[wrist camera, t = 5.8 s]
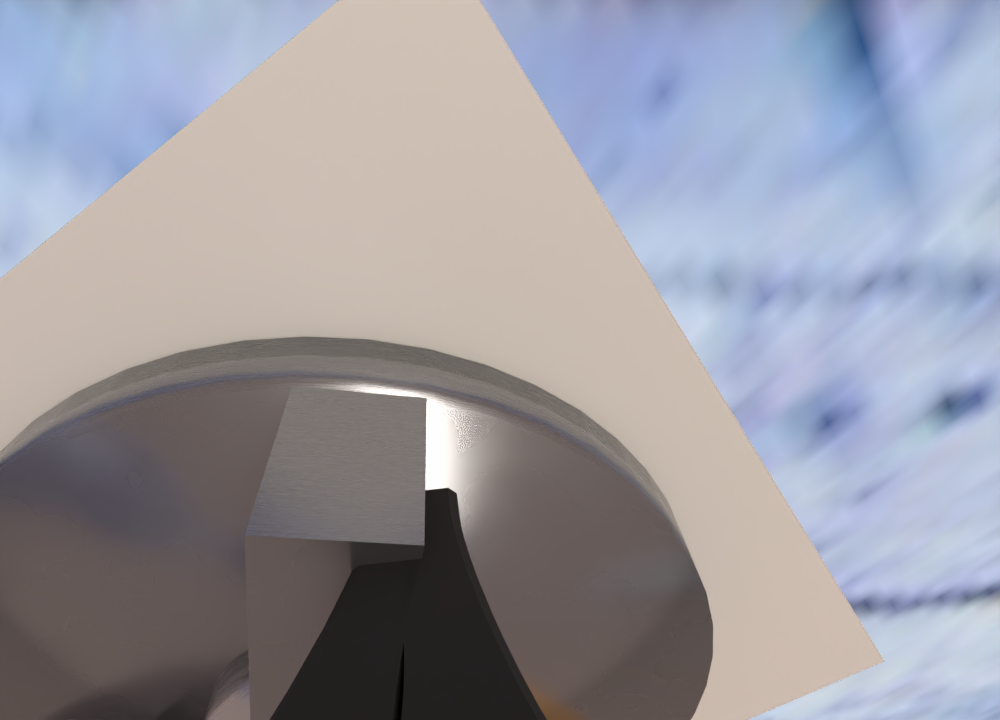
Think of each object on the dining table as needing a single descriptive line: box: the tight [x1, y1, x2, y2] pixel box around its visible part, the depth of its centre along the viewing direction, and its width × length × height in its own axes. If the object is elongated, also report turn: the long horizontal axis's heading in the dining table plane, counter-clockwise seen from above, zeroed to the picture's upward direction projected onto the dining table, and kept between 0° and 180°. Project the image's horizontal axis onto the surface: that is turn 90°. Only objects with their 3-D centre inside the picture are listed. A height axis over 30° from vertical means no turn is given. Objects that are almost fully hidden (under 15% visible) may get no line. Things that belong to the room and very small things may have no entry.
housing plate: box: [0, 0, 884, 720], centre depth 16 cm, size 20×20×2 cm
